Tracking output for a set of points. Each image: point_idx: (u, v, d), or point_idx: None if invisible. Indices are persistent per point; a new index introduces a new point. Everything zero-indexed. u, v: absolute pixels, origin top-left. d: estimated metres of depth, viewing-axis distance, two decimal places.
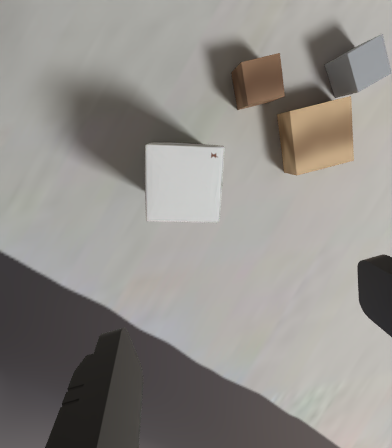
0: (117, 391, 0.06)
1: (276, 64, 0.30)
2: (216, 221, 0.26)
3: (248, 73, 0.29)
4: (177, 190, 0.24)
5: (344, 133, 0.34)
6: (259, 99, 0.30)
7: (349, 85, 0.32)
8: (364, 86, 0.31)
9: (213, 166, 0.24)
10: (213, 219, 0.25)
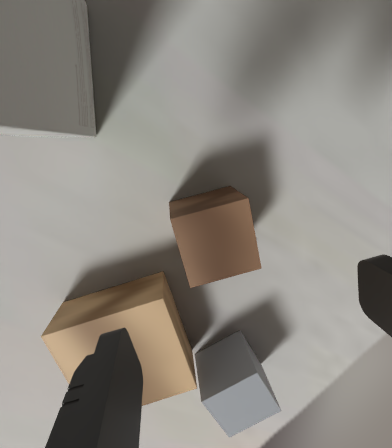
0: (117, 391, 0.06)
1: (243, 265, 0.16)
2: None
3: (228, 214, 0.15)
4: None
5: None
6: (182, 241, 0.15)
7: (211, 381, 0.20)
8: (210, 408, 0.19)
9: None
10: None
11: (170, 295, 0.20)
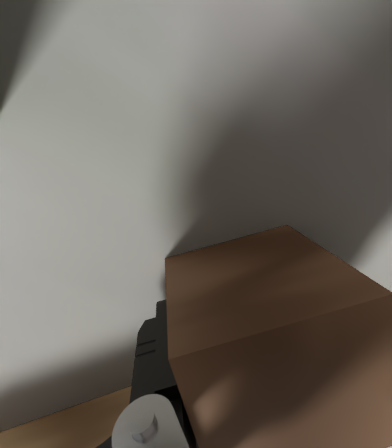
0: None
1: (352, 444, 0.06)
2: None
3: (333, 338, 0.05)
4: None
5: None
6: (202, 408, 0.05)
7: None
8: None
9: None
10: None
11: None
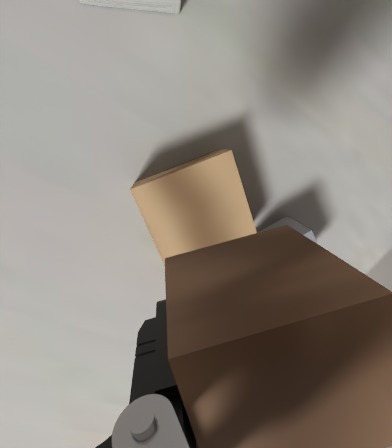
0: None
1: (352, 443, 0.06)
2: None
3: (333, 337, 0.05)
4: None
5: None
6: (202, 408, 0.05)
7: None
8: None
9: None
10: None
11: None
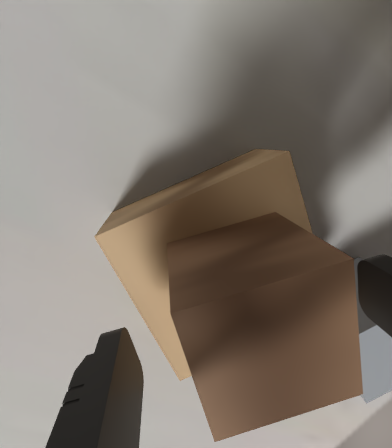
0: (118, 390, 0.06)
1: (327, 391, 0.07)
2: None
3: (306, 297, 0.06)
4: None
5: None
6: (199, 357, 0.06)
7: None
8: None
9: None
10: None
11: None
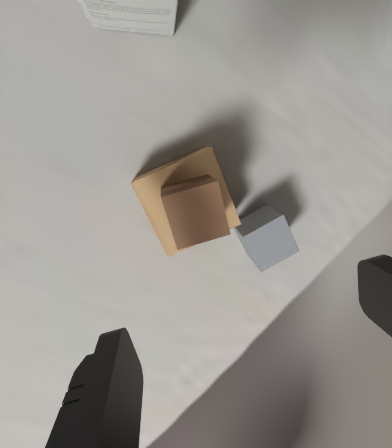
0: (117, 391, 0.06)
1: (216, 231, 0.21)
2: None
3: (203, 193, 0.20)
4: None
5: None
6: (170, 213, 0.20)
7: (248, 228, 0.27)
8: (248, 243, 0.26)
9: None
10: None
11: None
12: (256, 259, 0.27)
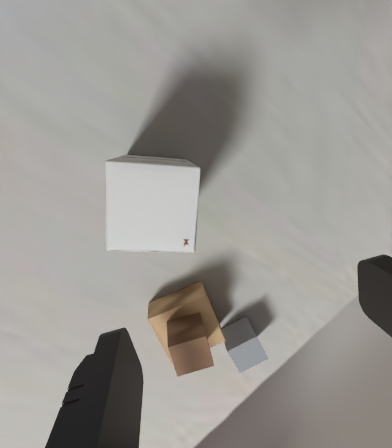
0: (117, 391, 0.06)
1: (204, 364, 0.31)
2: (106, 247, 0.21)
3: (196, 343, 0.30)
4: (147, 202, 0.20)
5: None
6: (173, 356, 0.30)
7: (231, 342, 0.37)
8: (231, 355, 0.36)
9: (174, 241, 0.21)
10: (110, 244, 0.21)
11: (206, 293, 0.37)
12: (236, 365, 0.37)
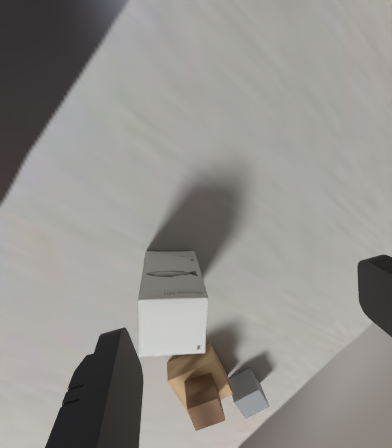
0: (117, 391, 0.06)
1: (217, 420, 0.38)
2: (139, 355, 0.28)
3: (210, 404, 0.37)
4: (169, 323, 0.27)
5: None
6: (192, 415, 0.37)
7: (237, 393, 0.43)
8: (237, 405, 0.43)
9: (190, 347, 0.28)
10: (141, 352, 0.28)
11: (215, 353, 0.44)
12: (242, 412, 0.43)
